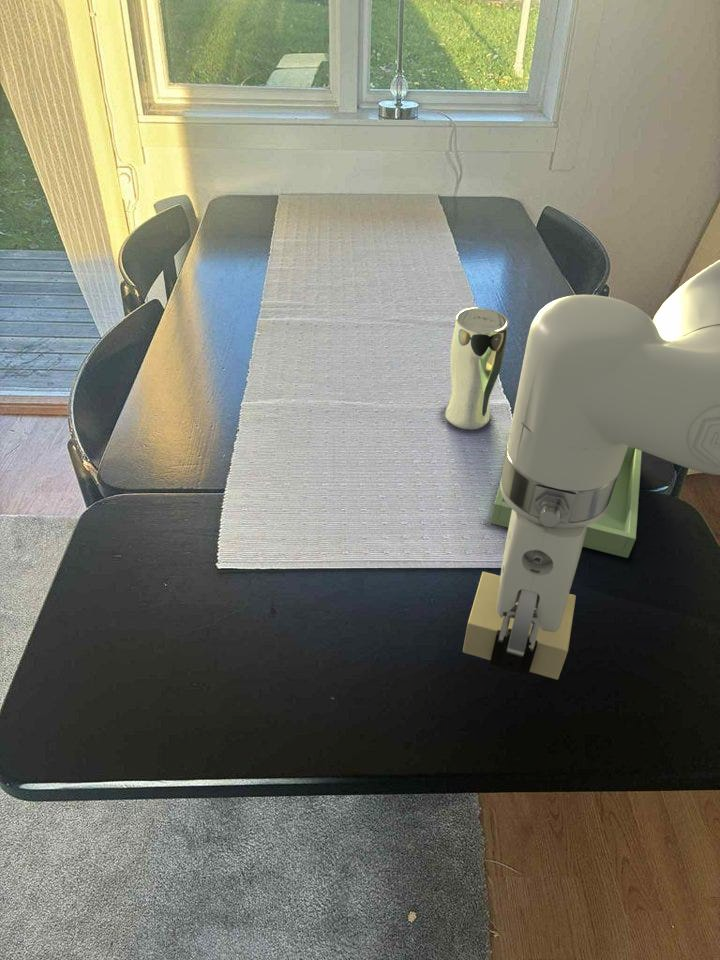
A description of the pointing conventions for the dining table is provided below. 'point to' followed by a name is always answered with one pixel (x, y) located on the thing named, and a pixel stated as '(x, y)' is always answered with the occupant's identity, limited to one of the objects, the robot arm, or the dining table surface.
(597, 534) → the tray
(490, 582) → the tan rectangular block
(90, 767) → the dining table surface
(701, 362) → the robot arm
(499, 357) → the beer glass
